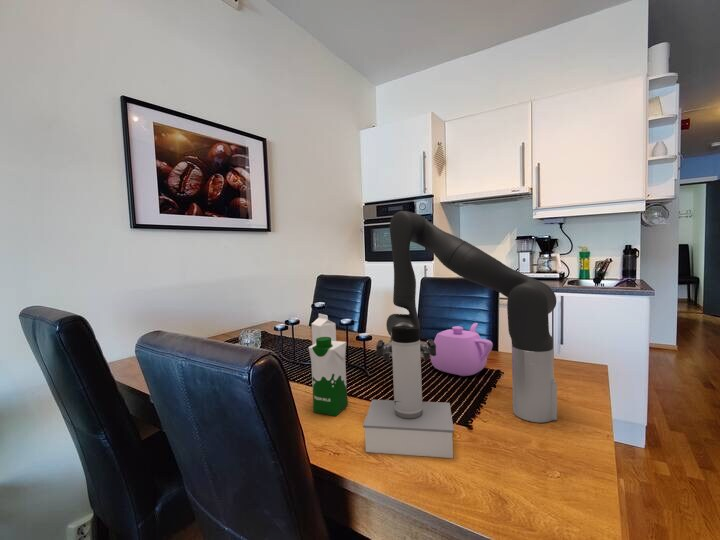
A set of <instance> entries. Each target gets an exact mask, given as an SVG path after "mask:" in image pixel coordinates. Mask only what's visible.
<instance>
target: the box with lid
mask: <svg viewBox="0 0 720 540" xmlns="http://www.w3.org/2000/svg"><path fill="white" fill-rule="evenodd" d="M394 406H395V405H394V399H393V400H390V399H371V402H370V405H369V408H368V410H367V413H366V415H365V416H366V417H364V418H365V419H364V422H363V424H362V428H364V439H365V440H364V441H365V444H364V445H365V453H372V454H373V453H375V454H389V455H390V454H391V455H403V456H415V457H417V456H418V457H419V456H420V457H430V458H443V459H444V458H446V459H454V451H453V450H454V448H453V447H454V445H453V443H454V442H453V434H454V432H455V430H454V423H453V417H452V411H451V410H452V409H451V403H450V402H445V401H444V402H440V401H439V402H438V401H422V408H423V413H422V415H421V416H419V417H417V418H413V419H405V418H401V417H399V416H397V415H396V414H395V408H394Z"/></svg>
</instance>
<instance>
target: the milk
mask: <svg viewBox="0 0 720 540" xmlns="http://www.w3.org/2000/svg"><path fill="white" fill-rule="evenodd" d="M336 327H337V326H336V322H333V321H331V320H330V319H329V317H328V315H327V314H323V313H318V317H317V318H316V319H315V320H314V321H313V322H311V338H312V345H314V344H316V339H317V338H320V337H330V338H331V341H337V331H336V330H337V328H336Z"/></svg>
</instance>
